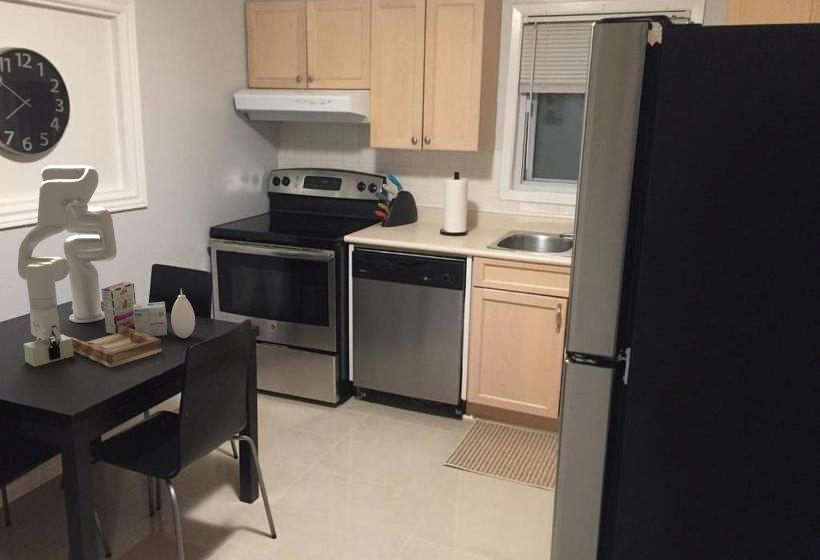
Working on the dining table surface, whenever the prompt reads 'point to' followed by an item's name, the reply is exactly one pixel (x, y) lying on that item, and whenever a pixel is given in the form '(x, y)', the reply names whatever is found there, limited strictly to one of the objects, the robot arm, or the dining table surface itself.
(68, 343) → the cream rectangular block
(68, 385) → the dining table surface
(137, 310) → the light bulb box
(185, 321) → the white air blower bulb
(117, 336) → the wooden tray
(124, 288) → the candy bar box
